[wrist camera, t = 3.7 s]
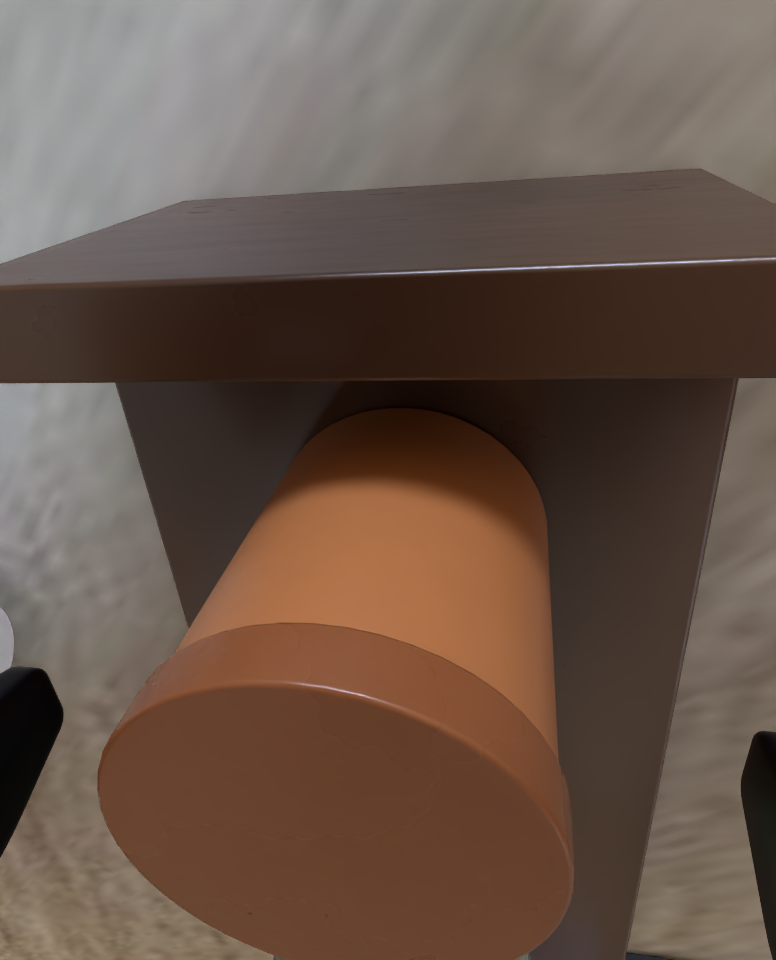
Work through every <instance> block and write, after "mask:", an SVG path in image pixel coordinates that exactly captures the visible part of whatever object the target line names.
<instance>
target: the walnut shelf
mask: <svg viewBox="0 0 776 960" xmlns="http://www.w3.org/2000/svg"><path fill="white" fill-rule="evenodd" d="M739 378H776V204H774V203H772V202H769V201H767V200H765V199H763V198H761V197H759V196H757V195H755V194H753V193H751V192H749V191H747V190H745V189H742V188H740V187H738V186H736V185H734V184H732V183H730V182H728V181H726V180H724V179H722V178H720V177H717V176H715V175H713V174H711V173H709V172H707V171H705V170H703V169H686V170H670V171H655V172H639V173H623V174H607V175H591V176H575V177H559V178H543V179H527V180H511V181H495V182H479V183H463V184H447V185H431V186H416V187H400V188H384V189H368V190H352V191H336V192H320V193H304V194H288V195H272V196H256V197H240V198H224V199H208V200H192V201H183V202H180V203H177V204H174V205H171V206H168V207H165V208H162V209H159V210H156V211H154V212H151V213H148V214H145V215H142V216H139V217H136V218H133V219H130V220H127V221H124V222H121V223H118V224H116V225H113V226H110V227H107V228H104V229H101V230H98V231H95V232H92V233H89V234H86V235H83V236H80V237H78V238H75V239H72V240H69V241H66V242H63V243H60V244H57V245H54V246H51V247H48V248H45V249H43V250H40V251H37V252H34V253H31V254H28V255H25V256H22V257H19V258H16V259H13V260H10V261H7V262H5V263H2V264H0V383H110V382H115V383H116V387H117V390H118V393H119V397H120V400H121V403H122V407H123V410H124V413H125V417H126V420H127V423H128V427H129V430H130V433H131V437H132V440H133V443H134V447H135V450H136V453H137V457H138V460H139V463H140V467H141V470H142V473H143V477H144V480H145V483H146V487H147V490H148V493H149V497H150V500H151V504H152V507H153V510H154V514H155V517H156V520H157V524H158V527H159V530H160V534H161V537H162V540H163V544H164V547H165V550H166V554H167V557H168V560H169V564H170V567H171V570H172V574H173V577H174V580H175V584H176V587H177V590H178V594H179V597H180V600H181V604H182V607H183V611H184V614H185V617H186V621H187V624H188V627H189V628H190V626H191V625H192V623H193V621H194V620H195V618H196V617H197V615H198V613H199V612H200V610H201V609H202V607H203V605H204V604H205V602H206V600H207V599H208V597H209V596H210V594H211V592H212V591H213V589H214V588H215V586H216V584H217V583H218V581H219V579H220V578H221V576H222V575H223V573H224V571H225V570H226V568H227V566H228V565H229V563H230V562H231V560H232V558H233V557H234V555H235V554H236V552H237V550H238V549H239V547H240V545H241V544H242V542H243V541H244V539H245V537H246V536H247V534H248V532H249V531H250V529H251V528H252V526H253V524H254V523H255V521H256V520H257V518H258V516H259V515H260V513H261V511H262V510H263V508H264V507H265V505H266V503H267V502H268V500H269V499H270V497H271V495H272V494H273V492H274V490H275V489H276V487H277V486H278V484H279V482H280V481H281V479H282V477H283V476H284V474H285V473H286V471H287V469H288V468H289V466H290V465H291V463H292V461H293V460H294V458H295V457H296V455H297V454H298V453H299V452H300V450H301V449H302V448H303V447H304V445H306V444H307V443H308V442H309V441H310V440H311V439H312V438H313V437H314V436H315V435H317V434H318V433H320V432H321V431H322V430H324V429H325V428H327V427H328V426H330V425H332V424H334V423H336V422H338V421H340V420H342V419H344V418H347V417H350V416H353V415H356V414H359V413H362V412H367V411H372V410H378V409H387V408H414V409H423V410H428V411H434V412H439V413H442V414H445V415H449V416H452V417H455V418H458V419H460V420H462V421H465V422H467V423H469V424H471V425H474V426H476V427H477V428H479V429H481V430H482V431H484V432H486V433H487V434H489V435H491V436H492V437H493V438H495V439H496V440H497V441H498V442H500V443H501V444H502V445H503V446H505V447H506V448H507V449H508V450H509V451H510V452H511V453H512V454H513V455H514V456H515V457H516V458H517V459H518V460H519V461H520V462H521V464H522V465H523V466H524V468H525V469H526V470H527V472H528V473H529V475H530V476H531V478H532V480H533V482H534V483H535V485H536V487H537V489H538V491H539V494H540V497H541V499H542V502H543V505H544V509H545V514H546V519H547V534H548V555H549V575H550V596H551V616H552V637H553V657H554V678H555V698H556V719H557V739H558V760H559V764H560V767H561V769H562V771H563V774H564V776H565V778H566V782H567V787H568V791H569V795H570V801H571V817H572V832H573V848H574V864H575V885H574V890H573V894H572V898H571V902H570V905H569V907H568V909H567V911H566V913H565V915H564V917H563V919H562V921H561V923H560V924H559V926H558V927H557V928H556V929H555V930H554V932H553V933H552V934H551V935H550V937H549V938H547V939H546V940H545V941H544V942H543V943H541V944H540V945H539V946H538V947H536V948H535V949H534V950H532V951H531V960H625V957H626V952H627V947H628V942H629V937H630V932H631V926H632V921H633V916H634V911H635V906H636V901H637V896H638V891H639V886H640V880H641V875H642V870H643V865H644V860H645V855H646V850H647V845H648V840H649V834H650V829H651V824H652V819H653V814H654V809H655V804H656V799H657V794H658V788H659V783H660V778H661V773H662V768H663V763H664V758H665V753H666V748H667V742H668V737H669V732H670V727H671V722H672V717H673V712H674V707H675V702H676V696H677V691H678V686H679V681H680V676H681V671H682V666H683V661H684V656H685V650H686V645H687V640H688V635H689V630H690V625H691V620H692V615H693V610H694V604H695V599H696V594H697V589H698V584H699V579H700V574H701V569H702V564H703V558H704V553H705V548H706V543H707V538H708V533H709V528H710V523H711V518H712V512H713V507H714V502H715V497H716V492H717V487H718V482H719V477H720V472H721V466H722V461H723V456H724V451H725V446H726V441H727V436H728V431H729V426H730V420H731V415H732V410H733V405H734V400H735V395H736V390H737V385H738V380H739Z"/></svg>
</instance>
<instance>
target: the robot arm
mask: <svg viewBox="0 0 776 960" xmlns="http://www.w3.org/2000/svg"><path fill="white" fill-rule="evenodd" d="M63 715H64V713H63V707H62V705H61V703H60V700H59V698H58V696H57V694H56V692H55V690H54V687H53V685H52V683H51V681H50V679H49V676H48V675H47V673H46V672H45V671H44V670H42V669H40V668H33V667H22V666H17V667H12V668H9V669H7V670H5V671H4V672H2V673H0V857H1V856H2V854H3V852H4V850H5V848H6V846H7V844H8V842H9V841H10V839H11V837H12V835H13V833H14V831H15V829H16V826H17V824H18V822H19V820H20V818H21V816H22V814H23V811H24V809H25V807H26V805H27V803H28V800H29V798H30V796H31V794H32V791H33V789H34V787H35V785H36V782H37V780H38V778H39V776H40V773H41V771H42V769H43V767H44V765H45V762H46V760H47V758H48V756H49V753H50V751H51V749H52V747H53V744H54V742H55V740H56V738H57V736H58V733H59V731H60V729H61V726H62V722H63ZM741 797H742V803H743V808H744V814H745V819H746V825H747V830H748V836H749V841H750V847H751V852H752V858H753V863H754V869H755V874H756V880H757V885H758V891H759V896H760V902H761V907H762V913H763V918H764V923H765V928H766V933H767V938H768V943H769V947H770V951H771V955H772V958H773V960H776V732H767V731H760V732H758V733H756V734H755V735H754V737H753V739H752V743H751V746H750V749H749V753H748V756H747V760H746V763H745V767H744V770H743V774H742V778H741Z"/></svg>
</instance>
